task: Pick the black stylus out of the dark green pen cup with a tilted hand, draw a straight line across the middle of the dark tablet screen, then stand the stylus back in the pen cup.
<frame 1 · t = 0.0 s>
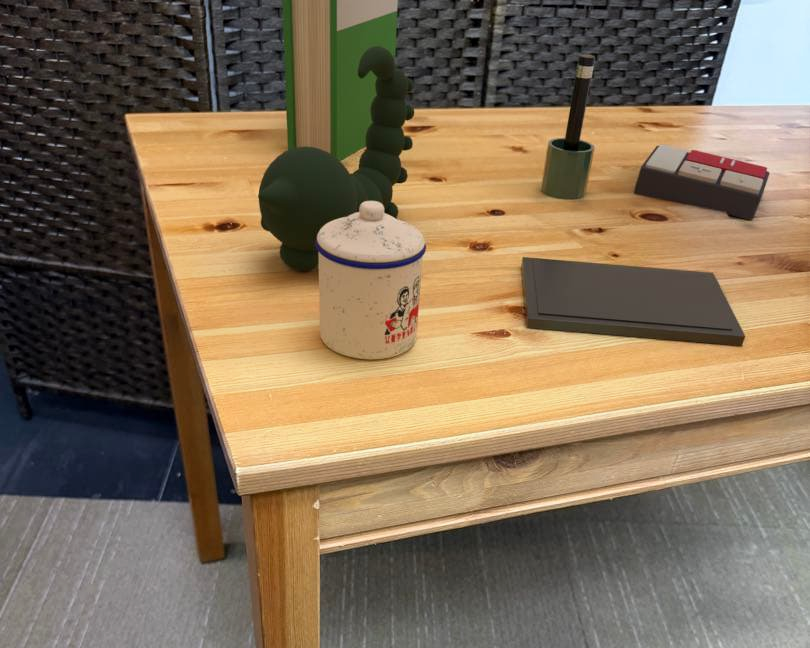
tablet: (624, 303, 81), on the table
toy figurine: (336, 249, 87), on the table
hardback book: (342, 142, 115), on the table
teacup with lid: (373, 332, 74), on the table
pen cup: (562, 195, 103), on the table
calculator: (697, 197, 106), on the table
stylus: (562, 191, 103), resting on pen cup
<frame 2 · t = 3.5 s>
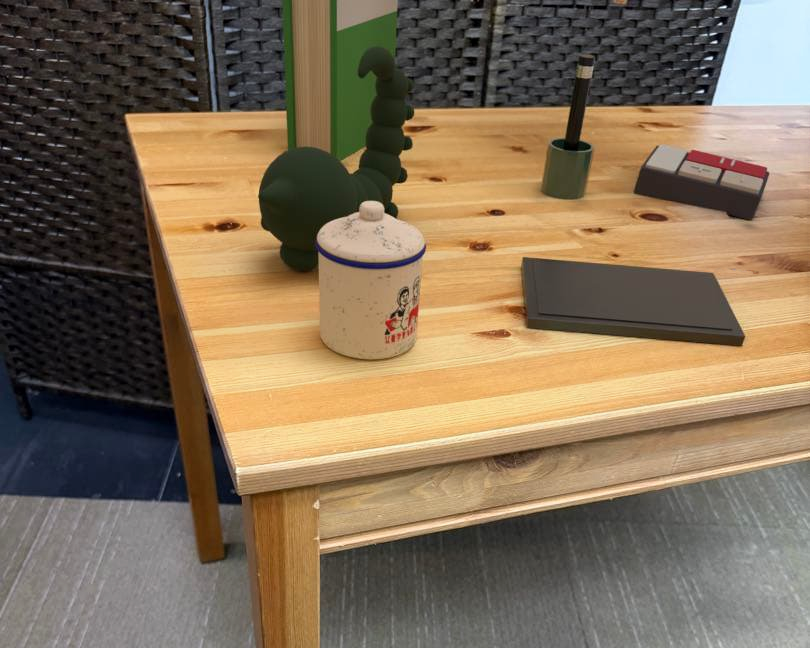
nothing on the table moved.
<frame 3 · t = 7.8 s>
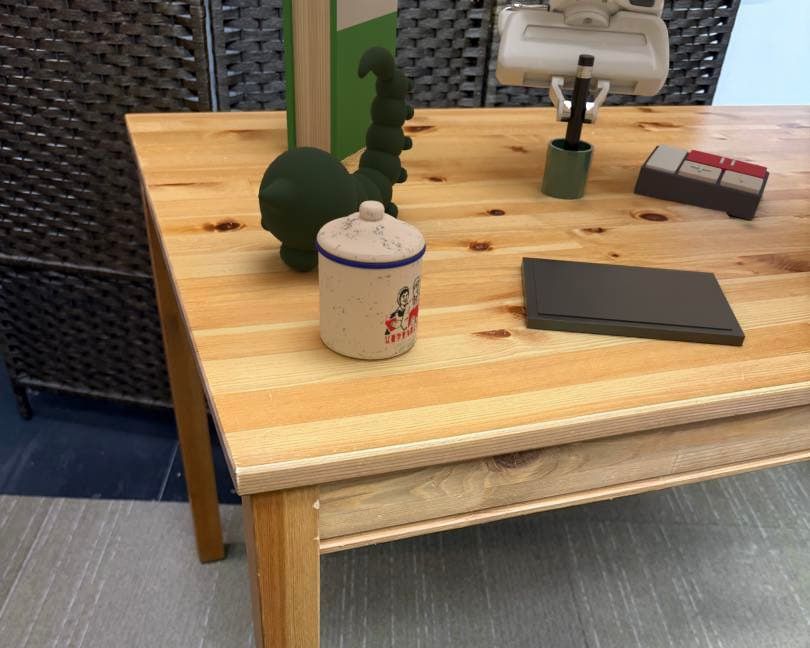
hand: (576, 120, 97), 9 cm above the table, tool tilted 45°, fingers closed on stylus, 2 cm apart
stylus: (563, 191, 103), point 1 cm above the table, touching gripper, pen cup
everything else where it was.
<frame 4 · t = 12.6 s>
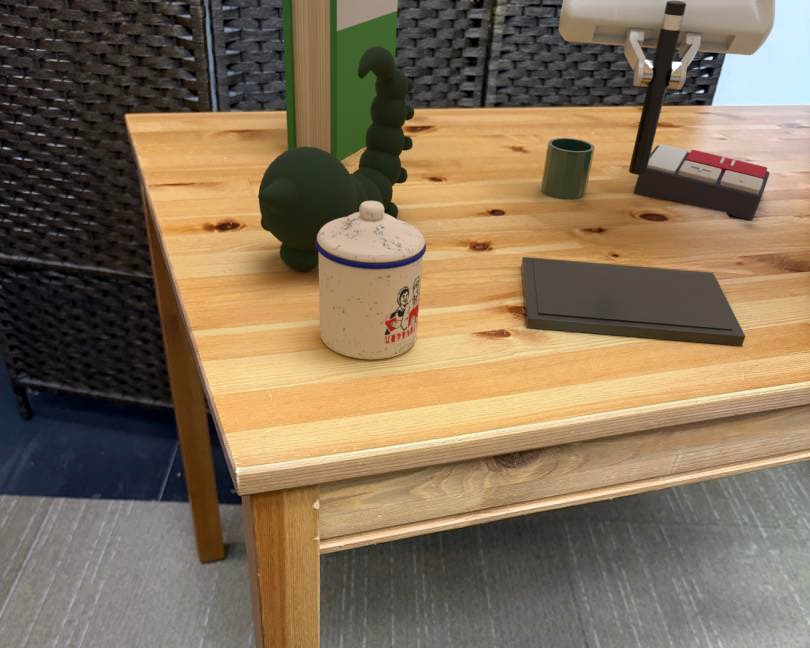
hand: (659, 84, 79), 17 cm above the table, tool tilted 45°, fingers closed on stylus
stylus: (637, 172, 85), point 8 cm above the table, touching gripper
everything else where it was.
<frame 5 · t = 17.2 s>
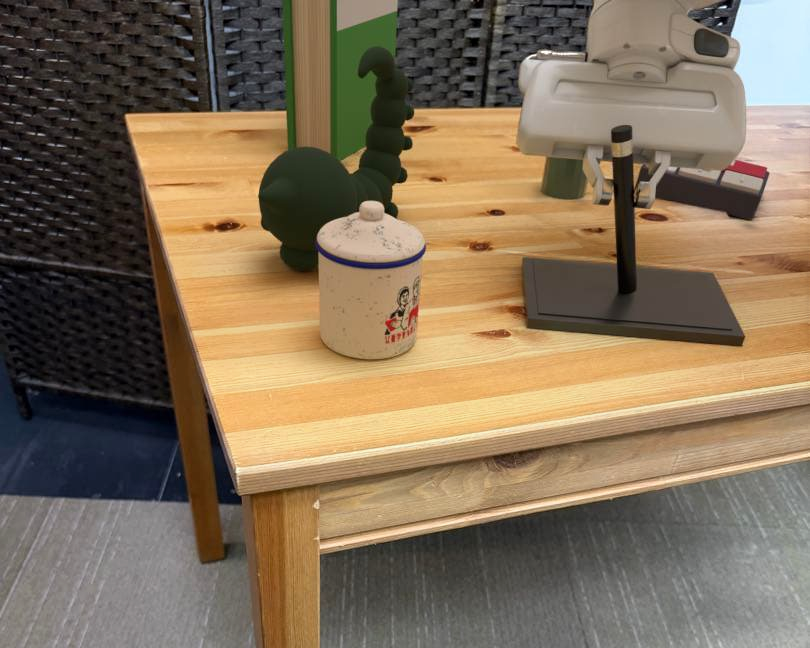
hand: (623, 204, 74), 10 cm above the table, tool tilted 45°, fingers closed on stylus, 2 cm apart
stylus: (627, 290, 80), point 1 cm above the table, tilted 15°, touching gripper, tablet
everything else where it was.
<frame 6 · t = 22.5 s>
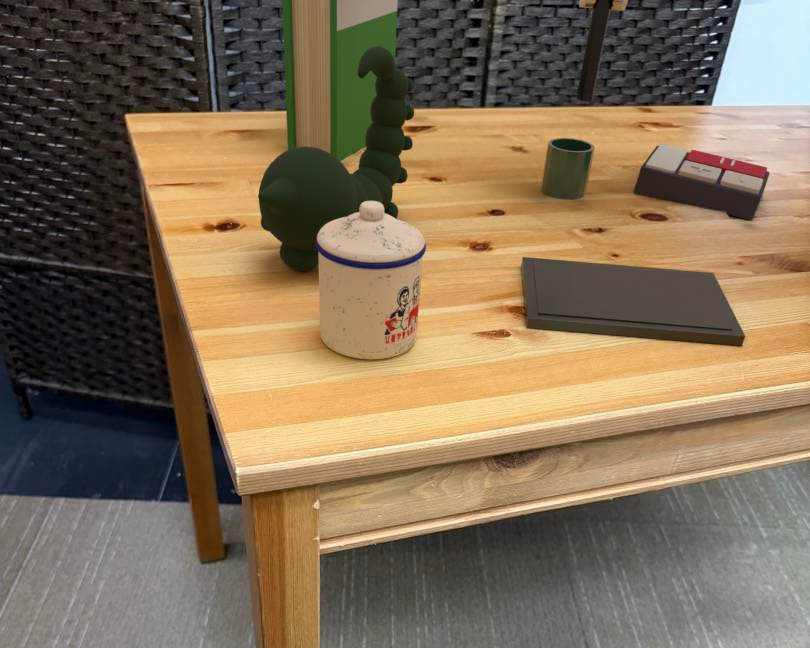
hand: (603, 5, 83), 22 cm above the table, tool tilted 45°, fingers closed on stylus
stylus: (584, 99, 89), point 13 cm above the table, touching gripper
everything else where it was.
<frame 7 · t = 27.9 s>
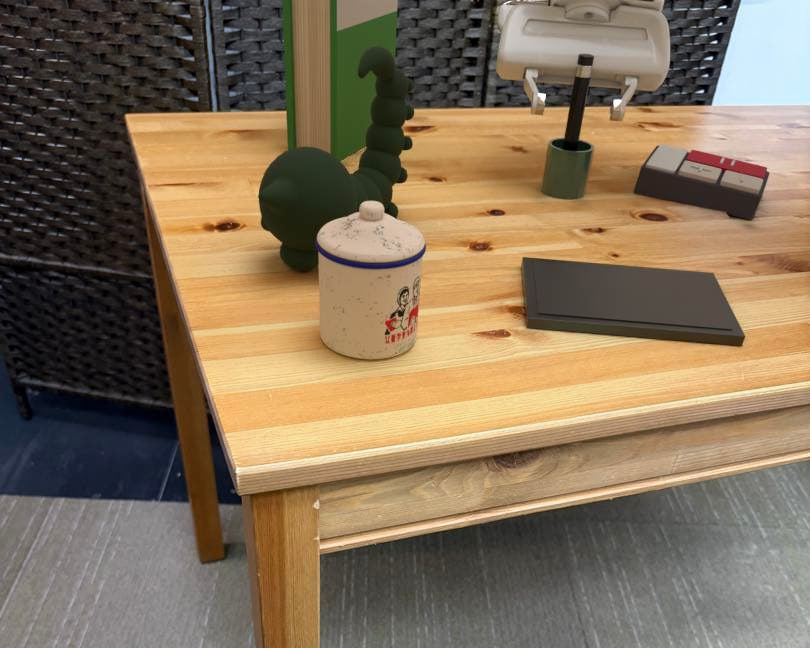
hand: (577, 115, 96), 9 cm above the table, tool tilted 45°, fingers open, 8 cm apart
stylus: (562, 190, 103), resting on pen cup
everything else where it was.
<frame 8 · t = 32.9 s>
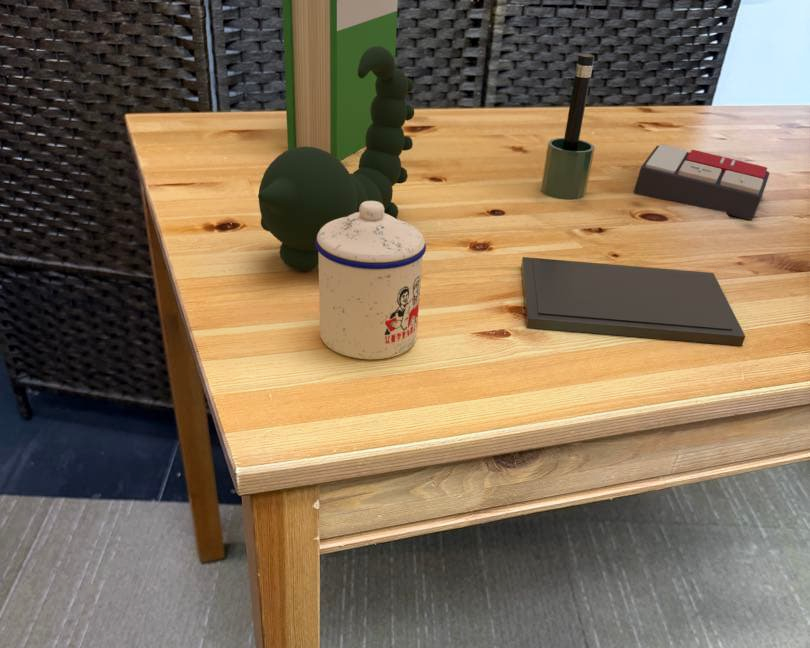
nothing on the table moved.
at the end: stylus 0.3 cm off-centre in the pen cup, point 0.5 cm above the pen cup's base; stylus touching pen cup; the gripper is holding nothing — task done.
